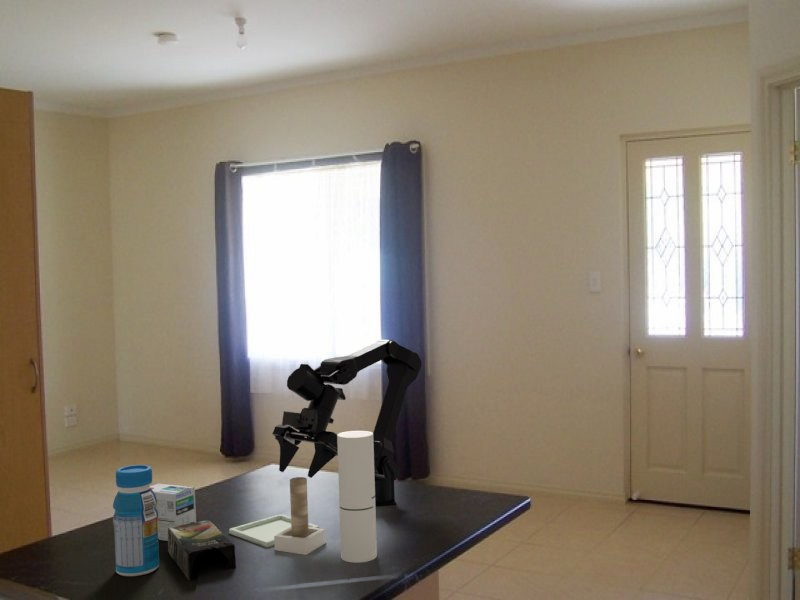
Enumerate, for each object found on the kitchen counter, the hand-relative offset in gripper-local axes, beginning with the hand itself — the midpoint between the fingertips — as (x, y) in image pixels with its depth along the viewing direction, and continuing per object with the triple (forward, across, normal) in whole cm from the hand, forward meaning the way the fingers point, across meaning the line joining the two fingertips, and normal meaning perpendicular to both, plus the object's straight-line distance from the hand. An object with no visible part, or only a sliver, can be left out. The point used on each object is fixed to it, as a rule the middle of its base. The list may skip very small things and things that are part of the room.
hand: (295, 474), depth 174 cm
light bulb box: (+21, -22, -8) cm, 31 cm away
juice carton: (+24, -3, -12) cm, 27 cm away
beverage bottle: (+29, -9, -21) cm, 37 cm away
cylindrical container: (+13, +23, +4) cm, 27 cm away
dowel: (+14, +9, +1) cm, 17 cm away
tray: (+13, -3, +4) cm, 14 cm away
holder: (+15, +9, +1) cm, 17 cm away
